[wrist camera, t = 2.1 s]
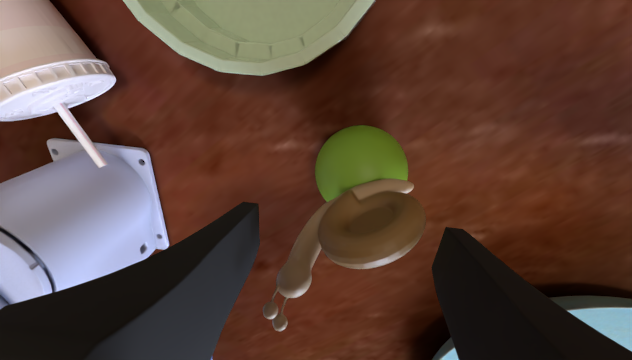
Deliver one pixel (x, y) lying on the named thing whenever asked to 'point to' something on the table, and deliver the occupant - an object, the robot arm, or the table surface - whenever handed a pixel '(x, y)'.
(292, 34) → the bowl
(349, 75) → the table surface
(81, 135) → the smoothie
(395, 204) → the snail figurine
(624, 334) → the teal plate
